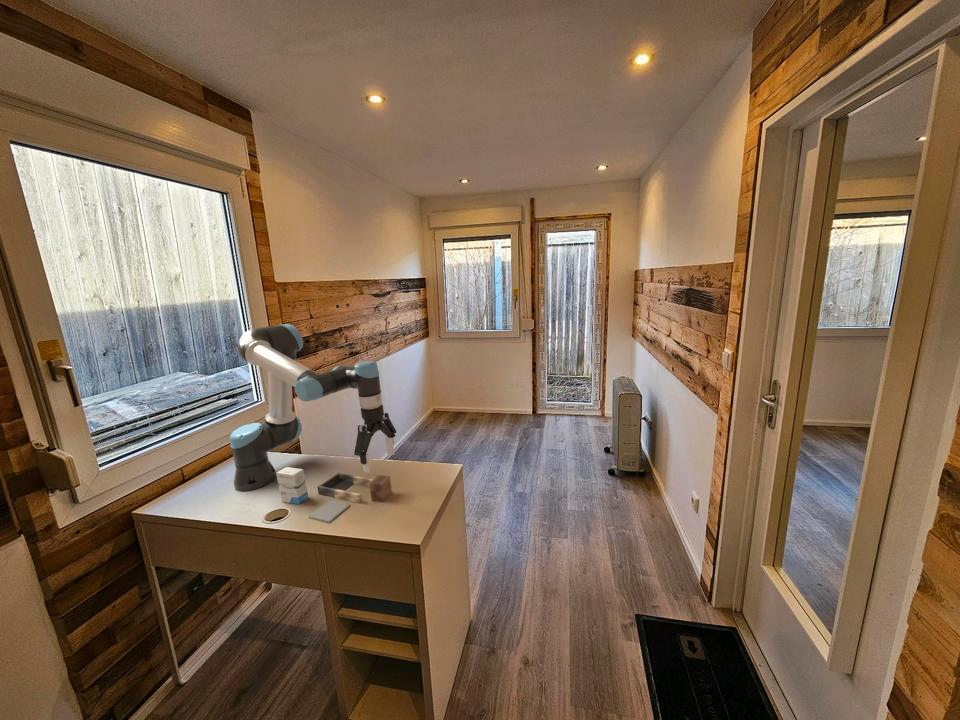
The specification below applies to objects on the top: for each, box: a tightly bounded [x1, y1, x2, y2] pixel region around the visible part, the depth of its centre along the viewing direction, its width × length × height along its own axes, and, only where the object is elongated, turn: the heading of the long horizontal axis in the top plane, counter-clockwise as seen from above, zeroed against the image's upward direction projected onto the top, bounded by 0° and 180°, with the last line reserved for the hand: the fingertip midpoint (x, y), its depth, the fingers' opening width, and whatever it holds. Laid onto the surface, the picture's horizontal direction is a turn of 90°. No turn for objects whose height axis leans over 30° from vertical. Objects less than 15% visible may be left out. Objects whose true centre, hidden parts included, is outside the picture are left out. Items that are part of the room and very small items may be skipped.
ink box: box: [276, 466, 309, 505], centre depth 139 cm, size 8×5×12 cm, turn 71°
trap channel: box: [317, 472, 374, 504], centre depth 143 cm, size 20×11×3 cm, turn 67°
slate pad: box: [308, 499, 351, 524], centre depth 131 cm, size 9×10×1 cm
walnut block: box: [369, 474, 392, 503], centre depth 137 cm, size 5×6×7 cm
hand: (379, 462), depth 134 cm, fingers open, 13 cm apart
